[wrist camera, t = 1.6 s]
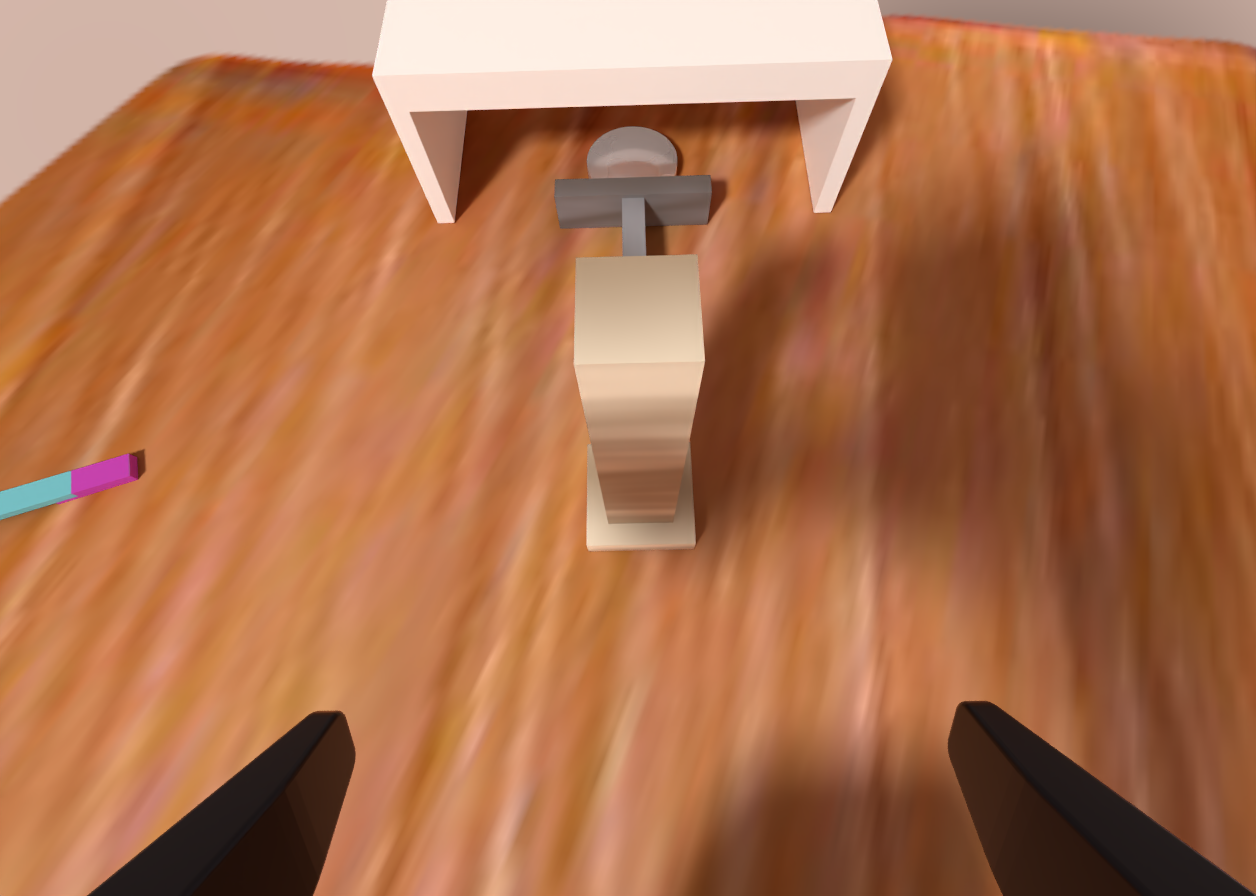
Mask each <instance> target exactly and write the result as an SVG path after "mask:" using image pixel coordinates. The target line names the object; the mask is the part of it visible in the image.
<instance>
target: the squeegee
mask: <svg viewBox="0 0 1256 896" xmlns="http://www.w3.org/2000/svg"><path fill="white" fill-rule="evenodd" d="M135 480H138V465H137V457H135V456H133V455H131V454H126V455H123V456H119V457H116V458H112V459H109V460H106V461H102V462H99V463H96V464H92V465H89V466H86V467H82V468H79V469H76V470H72V471H69V472H65V473H62V474H59V475H55V476H52V477H49V478H45V479H42V480H38V481H35V482H32V483H28V484H25V485H22V486H18V487H15V488H12V489H8V490H5V491H1V492H0V520H1V519H5V518H8V517H11V516H15V515H18V514H21V513H24V512H28V511H31V510H34V509H38V508H41V507H44V506H48V505H51V504H54V503H57V504H61V503H65V502H68V501H71V500H74V499H77V498H80V497H84V496H87V495H90V494H93V493H96V492H100V491H103V490H106V489H109V488H112V487H116V486H119V485H122V484H125V483H128V482H132V481H135Z"/></svg>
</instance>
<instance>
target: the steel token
mask: <svg viewBox="0 0 1256 896" xmlns="http://www.w3.org/2000/svg"><path fill="white" fill-rule="evenodd" d="M587 167H588V177H589V179H592V178H626V177H660V176H676V173H677V153H676V150H675V148H674V146H673V145H672V143H671V142H670V141H669V140H668V139H667V138H666V137H665V136H663V135H662V134H660V133H659V132H657V131H654V130H652V129H649V128H644V127H637V126H630V127H622V128H618V129H614V130H612V131H609V132H607V133H605V134H604V135H602V136H601V137H600V138H598V139H597V140H596V141H595V142H594V144H593V145H592V146H591V148H590V150H589V153H588V156H587Z"/></svg>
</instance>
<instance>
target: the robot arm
mask: <svg viewBox="0 0 1256 896" xmlns="http://www.w3.org/2000/svg"><path fill="white" fill-rule="evenodd" d="M948 753H949V757H950V760H951V763H952V766H953V768H954V771H955V774H956V776H957V779H958V782H959V785H960V787H961V790H962V793H963V795H964V798H965V801H966V803H967V806H968V809H969V812H970V814H971V817H972V820H973V822H974V825H975V828H976V830H977V833H978V836H979V839H980V841H981V844H982V847H983V849H984V852H985V855H986V857H987V860H988V862H989V865H990V867H991V870H992V872H993V875H994V877H995V879H996V881H997V883H998V886H999V888H1000V890H1001V892H1002V894H1003V896H1256V894H1254V893H1253V892H1252V891H1250V890H1249V889H1248V888H1246V887H1245V886H1243V885H1242V884H1241V883H1239V882H1238V881H1237V880H1235V879H1234V878H1232V877H1231V876H1230V875H1228V874H1227V873H1226V872H1224V871H1223V870H1222V869H1220V868H1219V867H1217V866H1216V865H1215V864H1213V863H1212V862H1211V861H1209V860H1208V859H1206V858H1205V857H1204V856H1202V855H1201V854H1200V853H1198V852H1197V851H1195V850H1194V849H1193V848H1191V847H1190V846H1189V845H1187V844H1186V843H1184V842H1183V841H1182V840H1180V839H1179V838H1178V837H1176V836H1175V835H1173V834H1172V833H1171V832H1169V831H1168V830H1167V829H1165V828H1164V827H1162V826H1161V825H1160V824H1158V823H1157V822H1156V821H1154V820H1153V819H1152V818H1150V817H1149V816H1147V815H1146V814H1145V813H1143V812H1142V811H1141V810H1139V809H1138V808H1136V807H1135V806H1134V805H1132V804H1131V803H1130V802H1128V801H1127V800H1125V799H1124V798H1123V797H1121V796H1120V795H1119V794H1117V793H1116V792H1114V791H1113V790H1112V789H1110V788H1109V787H1108V786H1106V785H1105V784H1103V783H1102V782H1101V781H1099V780H1098V779H1097V778H1095V777H1094V776H1092V775H1091V774H1090V773H1088V772H1087V771H1086V770H1084V769H1083V768H1082V767H1080V766H1079V765H1077V764H1076V763H1075V762H1073V761H1072V760H1071V759H1069V758H1068V757H1066V756H1065V755H1064V754H1062V753H1061V752H1060V751H1058V750H1057V749H1055V748H1054V747H1053V746H1051V745H1050V744H1049V743H1047V742H1046V741H1044V740H1043V739H1042V738H1040V737H1039V736H1038V735H1036V734H1035V733H1033V732H1032V731H1031V730H1029V729H1028V728H1027V727H1025V726H1024V725H1022V724H1021V723H1020V722H1018V721H1017V720H1016V719H1014V718H1013V717H1012V716H1010V715H1009V714H1007V713H1006V712H1005V711H1003V710H1002V709H1001V708H999V707H998V706H996V705H995V704H993V703H991V702H988V701H964V702H961V703H960V704H959V705H958V706H957V708H956V712H955V716H954V719H953V723H952V727H951V731H950V735H949V738H948ZM355 756H356V754H355V747H354V743H353V740H352V736H351V733H350V730H349V726H348V723H347V720H346V717H345V715H344V714H343V713H342V712H341V711H316V712H313V713H311V714H309V715H308V716H307V717H305V718H304V719H303V720H302V721H301V722H299V723H298V724H297V725H296V726H294V727H293V728H292V729H291V730H289V731H288V732H287V733H286V734H285V735H283V736H282V737H281V738H280V739H278V740H277V741H276V742H275V743H274V744H272V745H271V746H270V747H269V748H267V749H266V750H265V751H264V752H263V753H261V754H260V755H259V756H258V757H256V758H255V759H254V760H253V761H252V762H250V763H249V764H248V765H247V766H245V767H244V768H243V769H242V770H240V771H239V772H238V773H237V774H236V775H234V776H233V777H232V778H231V779H229V780H228V781H227V782H226V783H225V784H223V785H222V786H221V787H220V788H218V789H217V790H216V791H215V792H214V793H212V794H211V795H210V796H209V797H207V798H206V799H205V800H204V801H203V802H201V803H200V804H199V805H198V806H196V807H195V808H194V809H193V810H191V811H190V812H189V813H188V814H187V815H185V816H184V817H183V818H182V819H180V820H179V821H178V822H177V823H176V824H174V825H173V826H172V827H171V828H169V829H168V830H167V831H166V832H165V833H163V834H162V835H161V836H160V837H158V838H157V839H156V840H155V841H154V842H152V843H151V844H150V845H149V846H147V847H146V848H145V849H144V850H143V851H141V852H140V853H139V854H138V855H136V856H135V857H134V858H133V859H131V860H130V861H129V862H128V863H127V864H125V865H124V866H123V867H122V868H120V869H119V870H118V871H117V872H116V873H114V874H113V875H112V876H111V877H109V878H108V879H107V880H106V881H105V882H103V883H102V884H101V885H100V886H98V887H97V888H96V889H95V890H94V891H92V892H91V893H90V894H89V895H87V896H313V894H314V892H315V889H316V886H317V884H318V881H319V878H320V875H321V872H322V869H323V866H324V863H325V860H326V857H327V854H328V850H329V847H330V844H331V841H332V837H333V834H334V831H335V828H336V824H337V821H338V818H339V814H340V811H341V808H342V805H343V801H344V798H345V795H346V791H347V788H348V785H349V782H350V778H351V775H352V772H353V768H354V764H355Z"/></svg>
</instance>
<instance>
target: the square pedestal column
mask: <svg viewBox="0 0 1256 896" xmlns="http://www.w3.org/2000/svg"><path fill="white" fill-rule="evenodd" d="M711 195H712V188H711V176H710V175H695V176H660V177H626V178H592V179H557V180H555V196H554V197H555V202H556V208H557V214H558V219H559V225H560V228H596V227H622V238H623V256H622V257H585V258H576V282H575V332H574V368H575V372H576V377H577V381H578V386H579V391H580V395H581V400H582V405H583V409H584V414H585V418H586V423H587V428H588V432H589V437H590V441H591V444H588V456H587V548H588V550H589V551H624V550H675V549H694V547H695V545H696V536H695V519H694V501H693V484H692V466H691V449H690V442H689V440H690V434H691V429H692V424H693V419H694V414H695V409H696V404H697V399H698V394H699V389H700V384H701V379H702V374H703V369H704V364H705V355H704V341H703V327H702V312H701V298H700V284H699V270H698V256H697V254H696V255H659V256H646V237H645V226H667V225H703V224H707V223H708V216H709V209H710V202H711Z"/></svg>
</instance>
